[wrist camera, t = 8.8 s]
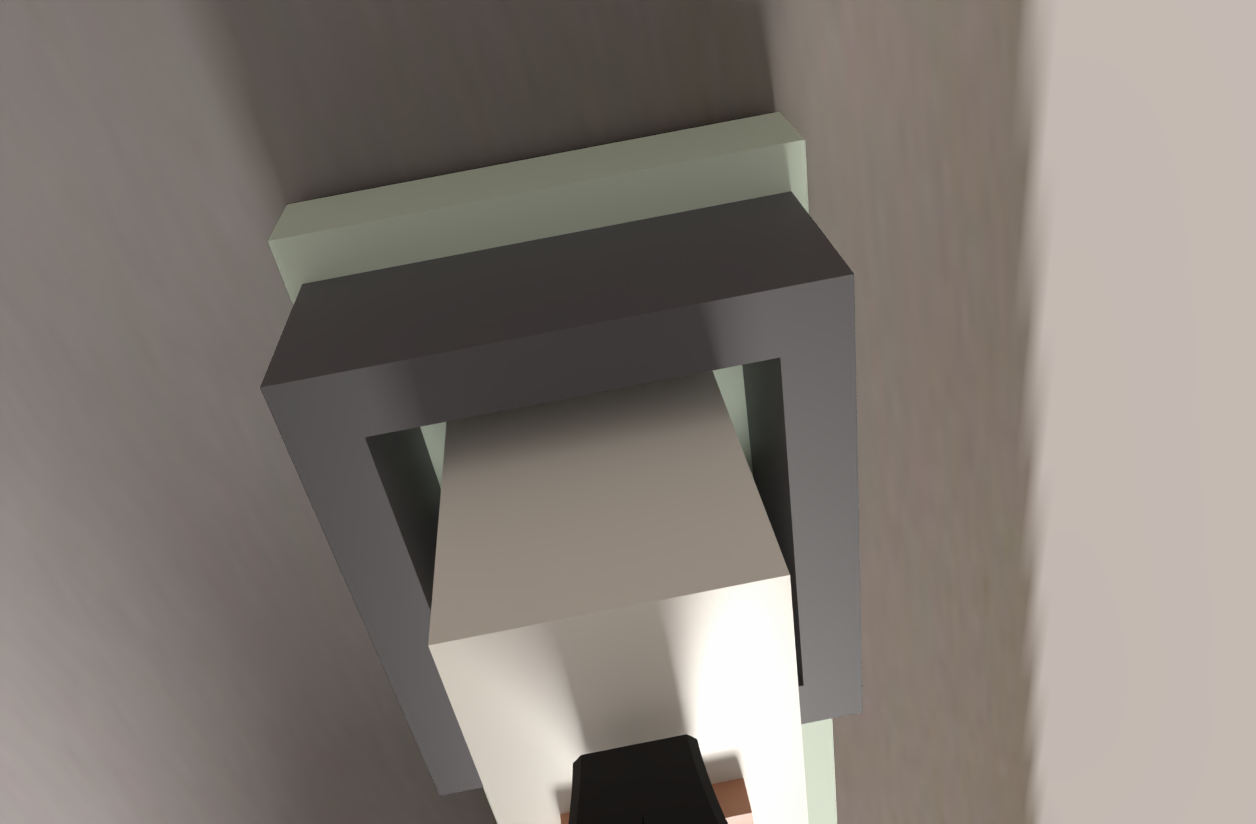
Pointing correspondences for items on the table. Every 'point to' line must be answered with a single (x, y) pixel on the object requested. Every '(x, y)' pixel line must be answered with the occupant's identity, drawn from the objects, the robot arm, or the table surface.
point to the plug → (615, 599)
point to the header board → (574, 369)
